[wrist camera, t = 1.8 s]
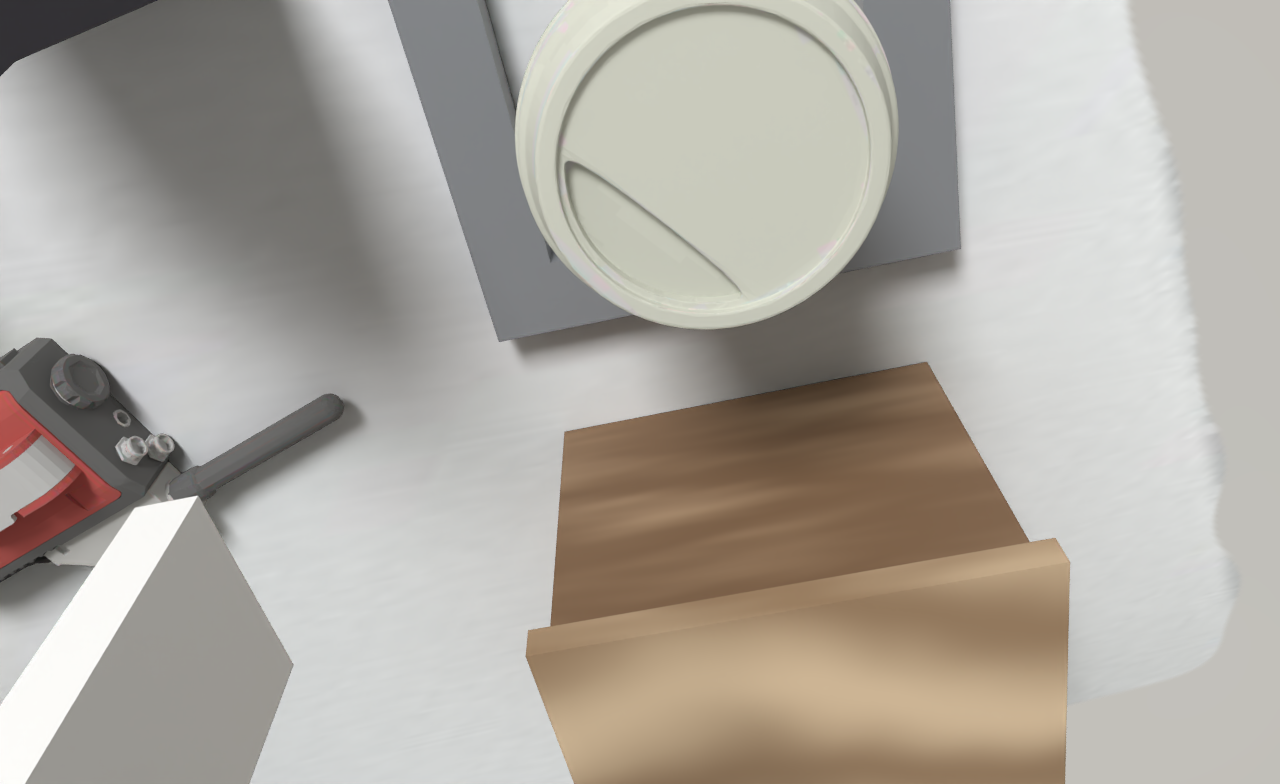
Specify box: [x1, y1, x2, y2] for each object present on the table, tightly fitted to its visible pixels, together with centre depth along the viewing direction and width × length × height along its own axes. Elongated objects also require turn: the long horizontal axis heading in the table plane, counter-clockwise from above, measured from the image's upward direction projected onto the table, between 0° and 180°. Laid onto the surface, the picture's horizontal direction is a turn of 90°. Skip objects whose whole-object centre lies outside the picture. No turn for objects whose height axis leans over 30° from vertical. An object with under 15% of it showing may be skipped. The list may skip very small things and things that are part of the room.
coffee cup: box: [515, 0, 899, 330], centre depth 25 cm, size 8×9×12 cm
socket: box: [388, 0, 961, 342], centre depth 30 cm, size 16×16×2 cm
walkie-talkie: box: [0, 338, 344, 582], centre depth 36 cm, size 9×4×20 cm
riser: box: [526, 362, 1070, 784], centre depth 36 cm, size 15×15×12 cm
